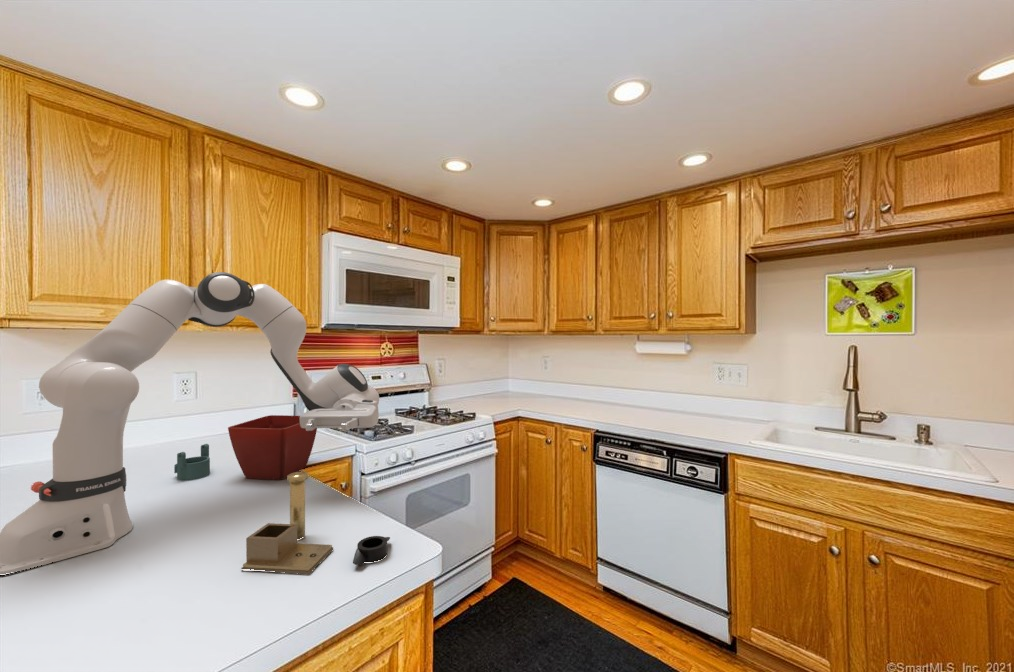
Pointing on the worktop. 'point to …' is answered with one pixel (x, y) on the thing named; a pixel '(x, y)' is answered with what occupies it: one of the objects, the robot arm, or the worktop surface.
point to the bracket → (193, 465)
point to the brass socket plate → (282, 550)
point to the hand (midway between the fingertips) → (326, 427)
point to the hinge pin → (297, 501)
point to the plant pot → (271, 446)
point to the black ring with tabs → (370, 550)
